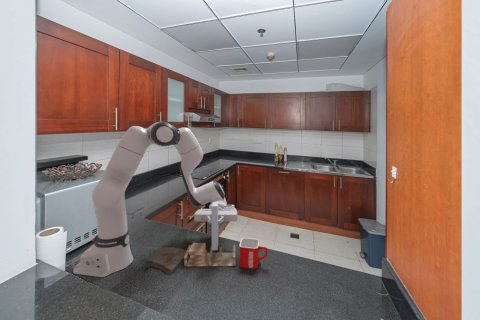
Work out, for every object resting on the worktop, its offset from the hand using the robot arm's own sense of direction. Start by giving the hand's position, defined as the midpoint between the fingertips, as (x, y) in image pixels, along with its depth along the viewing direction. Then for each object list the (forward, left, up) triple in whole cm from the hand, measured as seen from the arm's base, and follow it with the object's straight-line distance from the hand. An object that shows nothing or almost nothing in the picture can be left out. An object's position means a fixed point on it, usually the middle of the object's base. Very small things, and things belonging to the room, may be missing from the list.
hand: (214, 222), depth 91 cm
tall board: (0, +1, -12) cm, 12 cm away
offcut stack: (-8, +1, -18) cm, 20 cm away
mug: (+17, -2, -20) cm, 26 cm away
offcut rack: (-2, +1, -19) cm, 20 cm away
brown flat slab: (-22, 0, -20) cm, 30 cm away
